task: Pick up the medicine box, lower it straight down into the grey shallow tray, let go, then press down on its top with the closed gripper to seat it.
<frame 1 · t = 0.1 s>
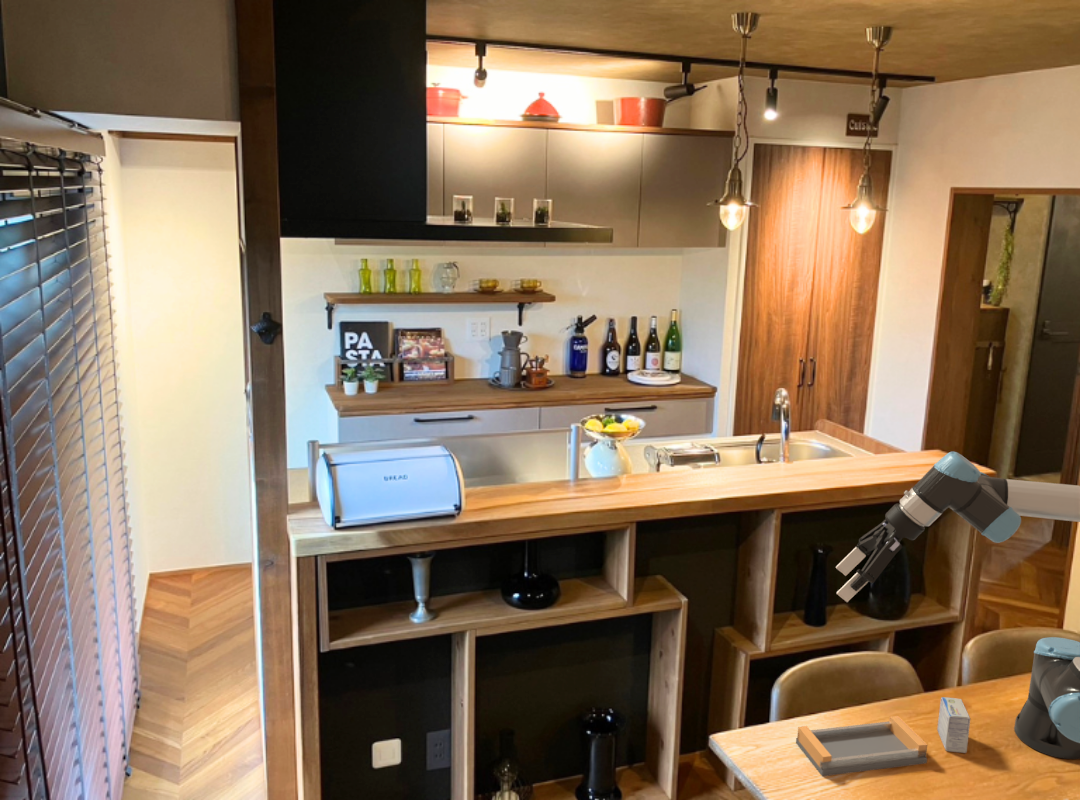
hand: (841, 584, 191), 36 cm above the table, tool tilted 35°, fingers open, 13 cm apart
medicine box: (951, 743, 196), on the table
grey shallow tray: (860, 752, 192), on the table
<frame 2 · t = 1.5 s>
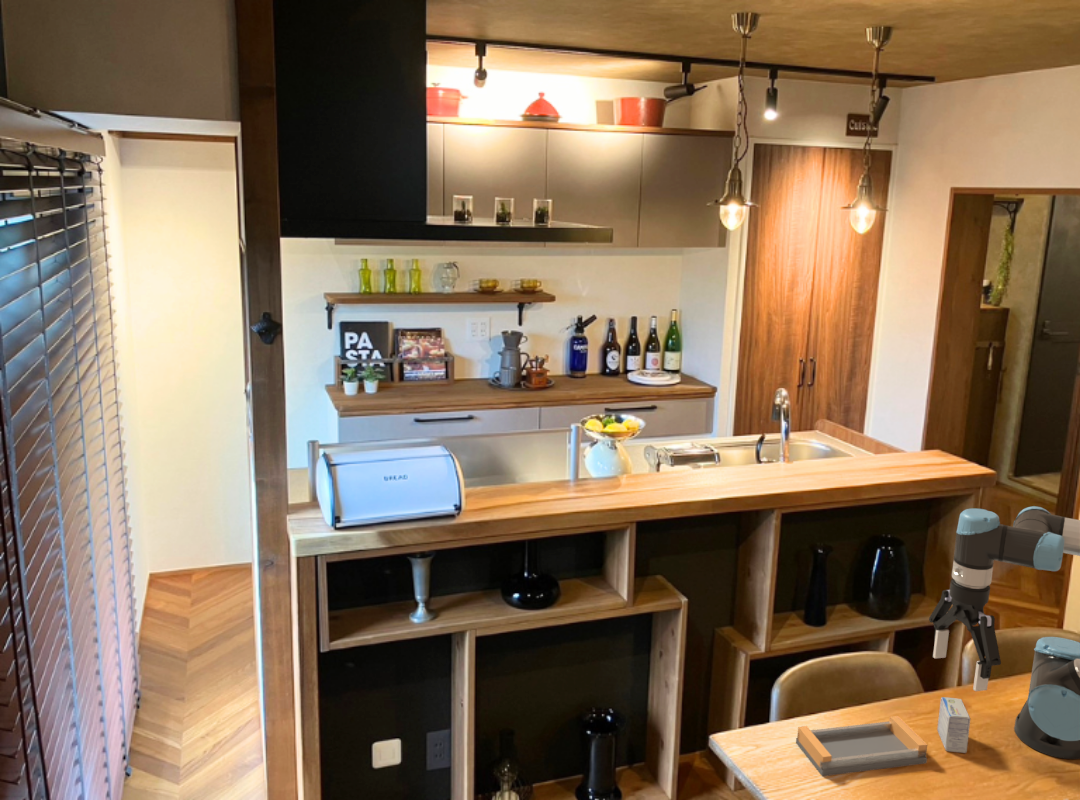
hand: (958, 673, 192), 17 cm above the table, tool pointing down, fingers open, 13 cm apart
nothing on the table moved.
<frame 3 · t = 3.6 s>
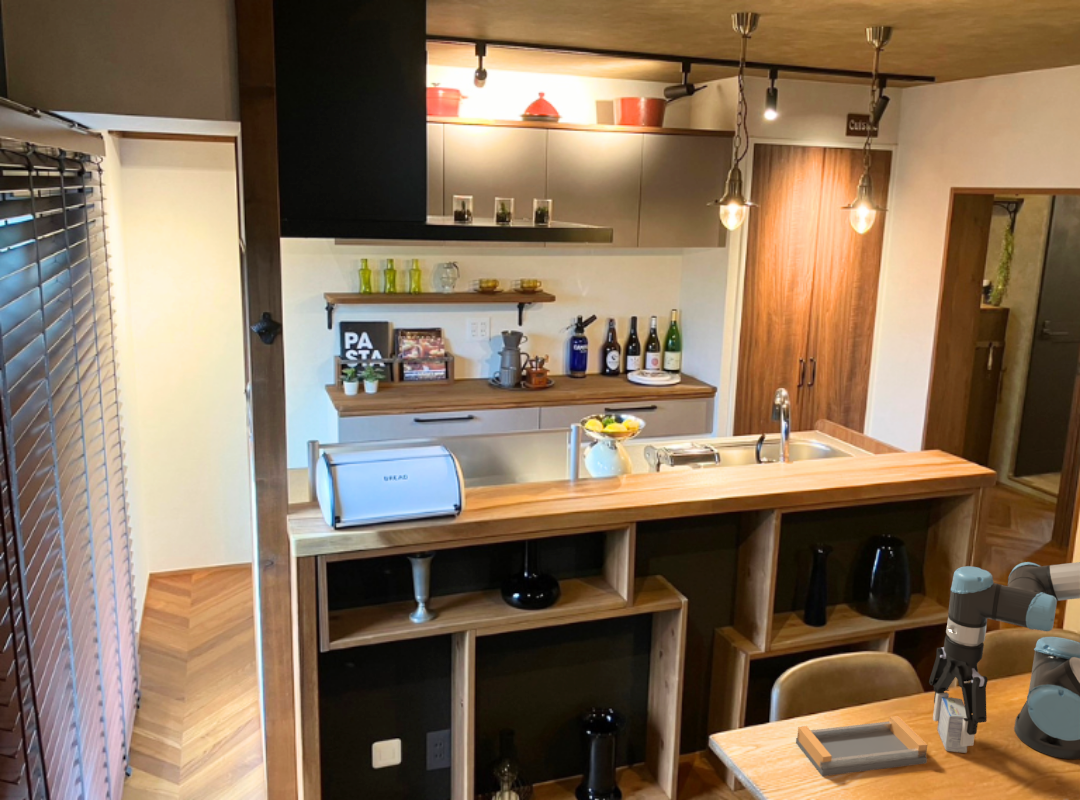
hand: (952, 731, 195), 2 cm above the table, tool pointing down, fingers closed on medicine box, 9 cm apart
medicine box: (951, 742, 196), on the table, touching gripper
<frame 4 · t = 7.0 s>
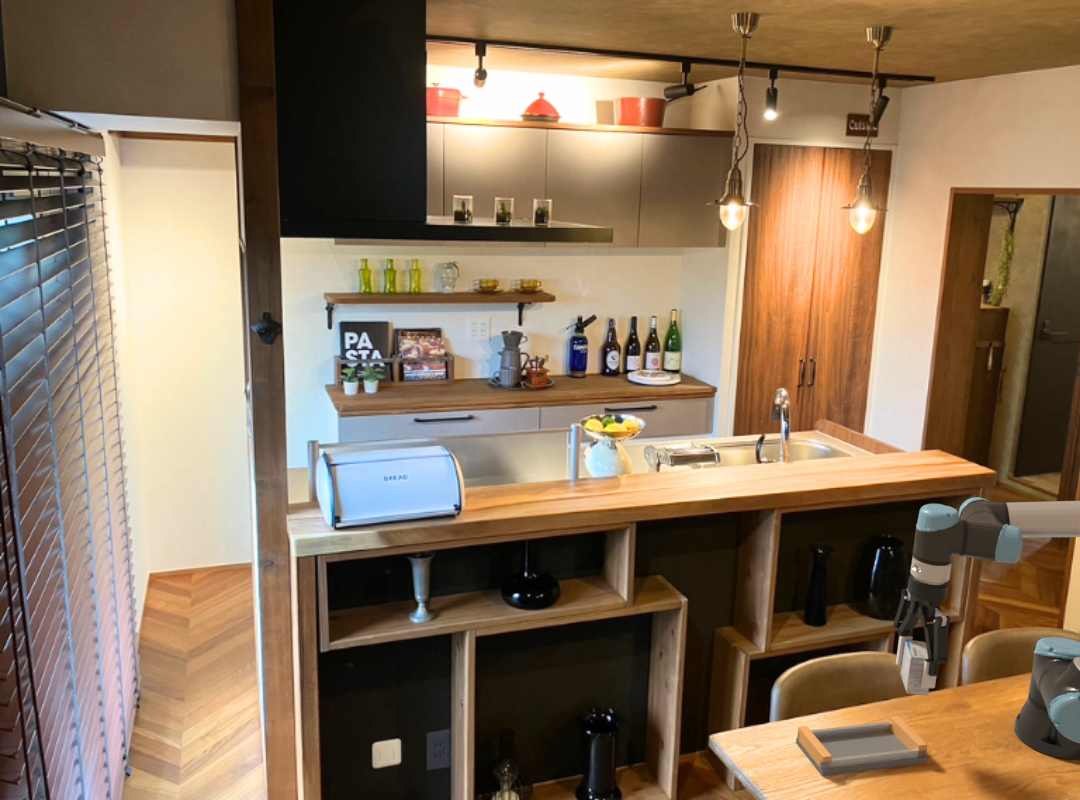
hand: (914, 675, 191), 17 cm above the table, tool pointing down, fingers closed on medicine box, 9 cm apart
medicine box: (913, 686, 191), point 14 cm above the table, touching gripper
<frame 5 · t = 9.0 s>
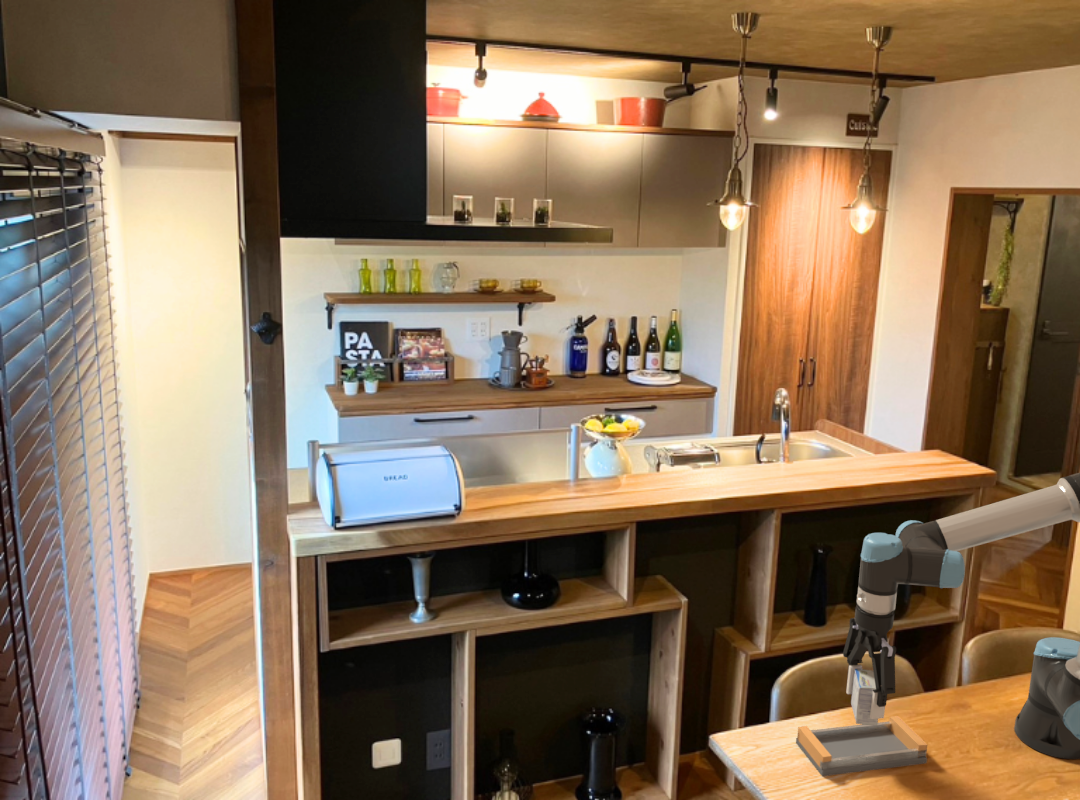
hand: (864, 704, 189), 12 cm above the table, tool pointing down, fingers closed on medicine box, 9 cm apart
medicine box: (863, 715, 190), point 9 cm above the table, touching gripper
when the fingers open (5 cm above the table, at t = 10.7 s): medicine box stays where it is, resting on grey shallow tray.
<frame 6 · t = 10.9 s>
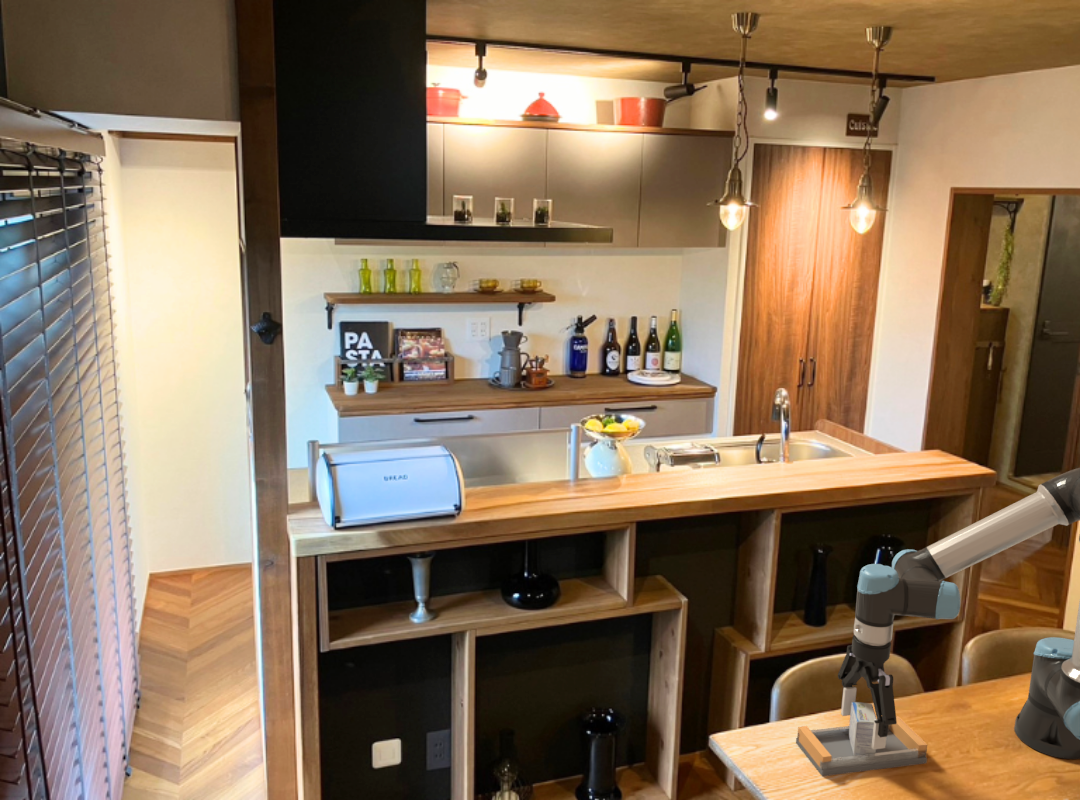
hand: (862, 730, 191), 5 cm above the table, tool pointing down, fingers open, 11 cm apart
medicine box: (861, 748, 192), point 1 cm above the table, touching grey shallow tray
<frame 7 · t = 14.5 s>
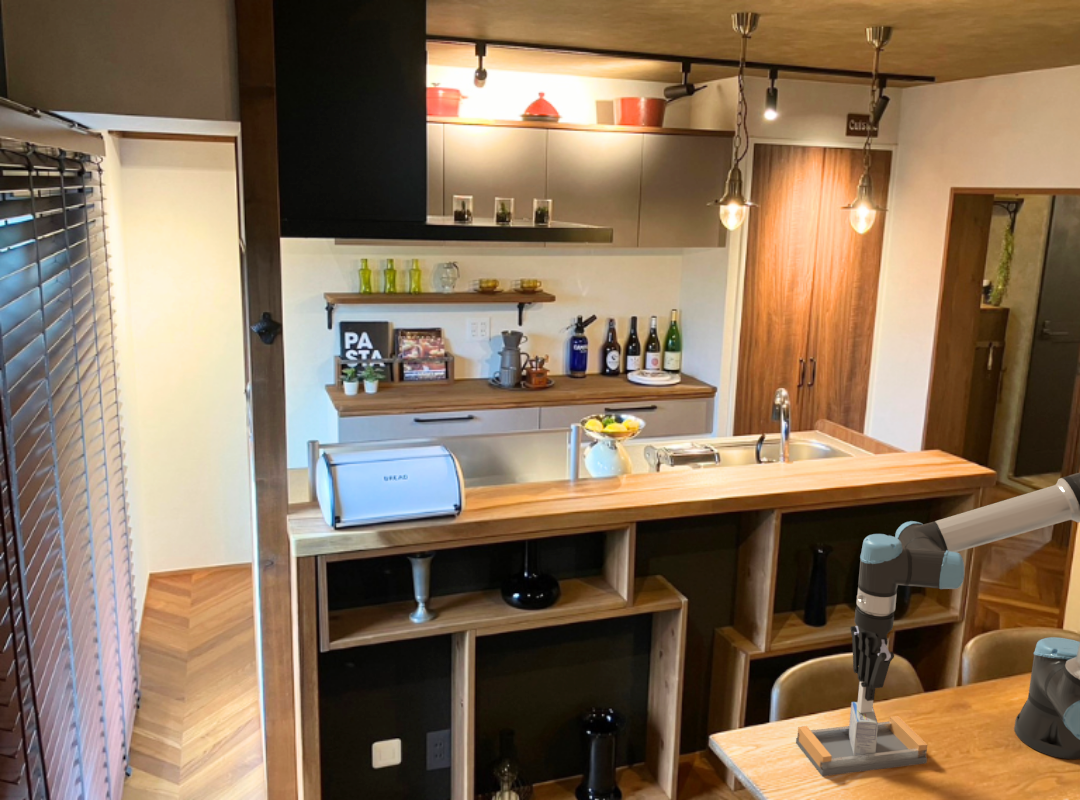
hand: (864, 710, 189), 10 cm above the table, tool pointing down, fingers closed
nothing on the table moved.
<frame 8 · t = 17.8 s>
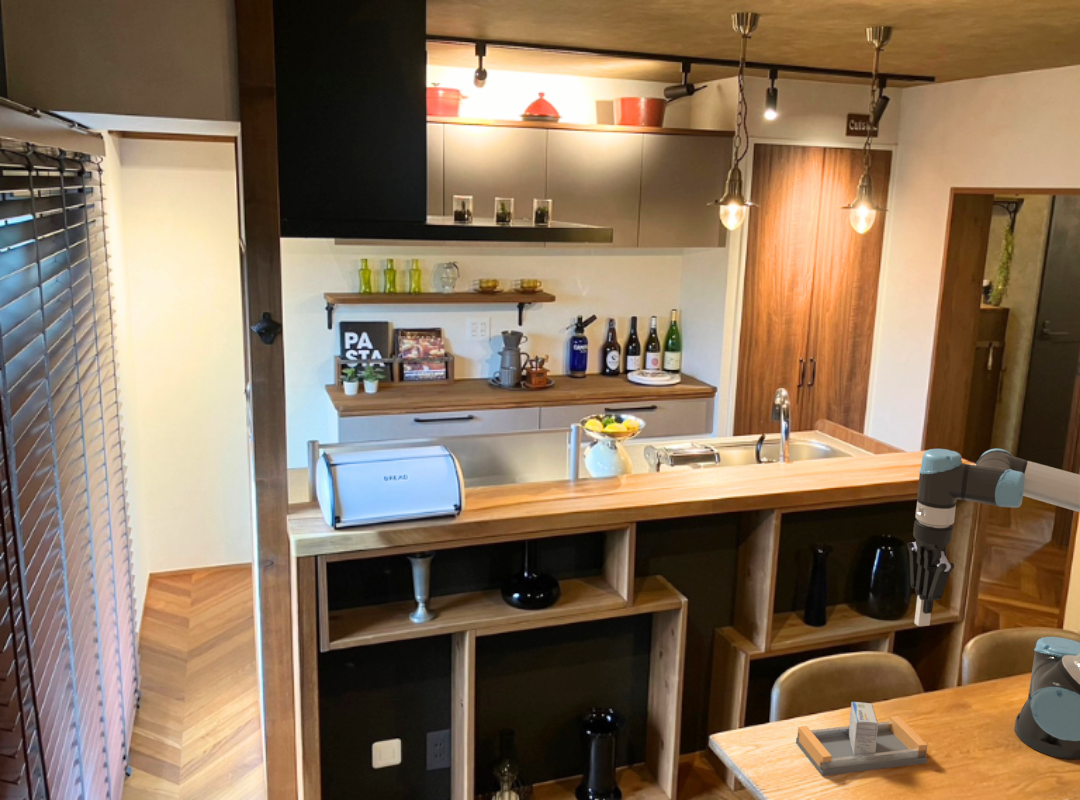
hand: (921, 624, 193), 26 cm above the table, tool pointing down, fingers closed
nothing on the table moved.
at the end: medicine box 0.1 cm off-centre on the grey shallow tray, point 1.0 cm above the grey shallow tray's base; medicine box tilted 0°; the gripper is holding nothing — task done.
